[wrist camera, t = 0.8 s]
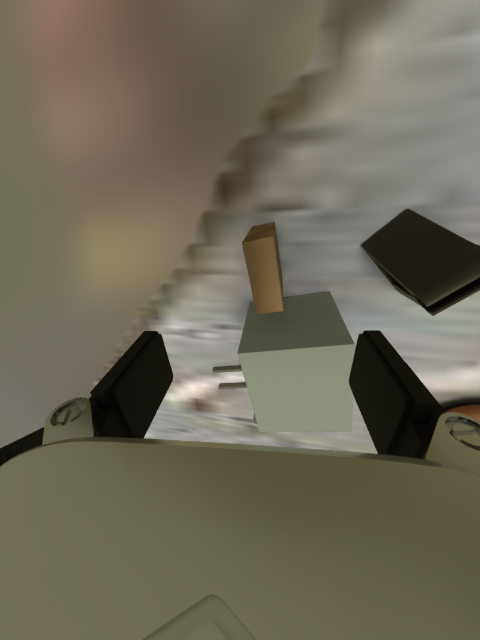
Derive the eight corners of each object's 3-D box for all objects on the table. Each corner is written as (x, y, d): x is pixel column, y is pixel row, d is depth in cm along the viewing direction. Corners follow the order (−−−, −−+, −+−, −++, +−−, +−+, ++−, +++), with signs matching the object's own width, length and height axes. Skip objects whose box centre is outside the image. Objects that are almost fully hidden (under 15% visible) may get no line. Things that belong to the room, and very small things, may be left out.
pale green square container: (329, 291, 33) (354, 344, 22) (332, 379, 42) (351, 449, 31) (193, 310, 38) (158, 360, 27) (220, 385, 47) (202, 446, 36)
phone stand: (360, 244, 29) (403, 275, 19) (406, 208, 27) (486, 221, 16) (396, 291, 32) (452, 340, 22) (443, 261, 29) (532, 302, 19)
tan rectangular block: (274, 222, 30) (273, 236, 21) (282, 279, 33) (283, 311, 25) (246, 228, 30) (234, 244, 22) (257, 283, 34) (250, 315, 26)
